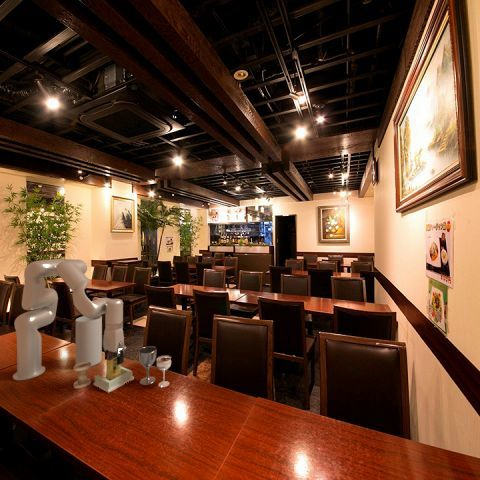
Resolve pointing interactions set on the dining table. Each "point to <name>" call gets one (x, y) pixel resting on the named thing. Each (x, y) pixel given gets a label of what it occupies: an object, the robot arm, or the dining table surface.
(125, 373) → the notched board
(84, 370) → the bobbin
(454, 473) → the dining table surface
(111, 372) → the sauce bottle
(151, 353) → the wine glass
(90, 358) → the cylinder vase
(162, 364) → the wineglass
